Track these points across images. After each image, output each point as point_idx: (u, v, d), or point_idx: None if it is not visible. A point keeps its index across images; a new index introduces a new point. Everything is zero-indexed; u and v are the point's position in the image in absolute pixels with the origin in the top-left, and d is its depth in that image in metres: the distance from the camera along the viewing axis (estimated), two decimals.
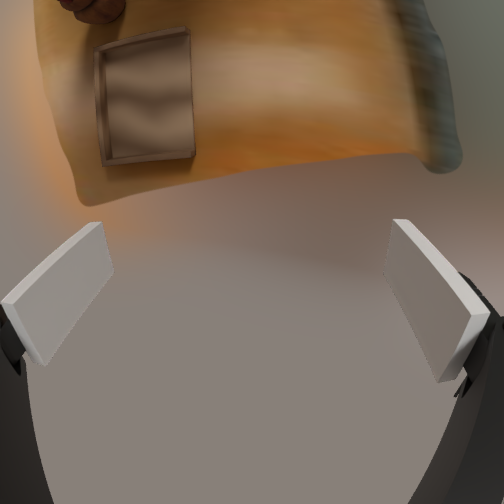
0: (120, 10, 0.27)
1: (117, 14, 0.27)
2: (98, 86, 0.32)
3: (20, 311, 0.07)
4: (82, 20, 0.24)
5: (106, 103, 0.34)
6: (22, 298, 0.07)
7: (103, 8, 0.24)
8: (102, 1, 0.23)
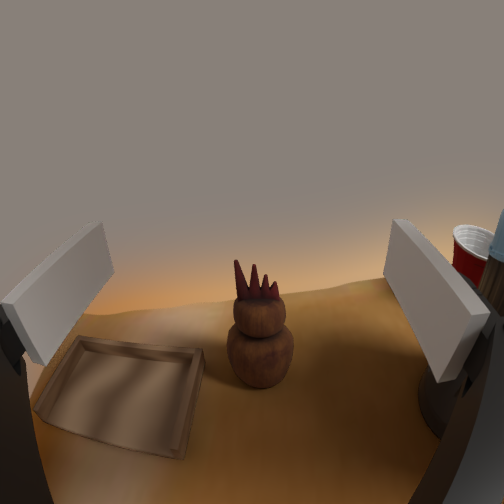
0: (245, 380, 0.30)
1: (240, 377, 0.30)
2: (151, 348, 0.33)
3: (20, 311, 0.07)
4: None
5: (136, 357, 0.34)
6: (22, 298, 0.07)
7: (235, 351, 0.28)
8: (243, 348, 0.27)
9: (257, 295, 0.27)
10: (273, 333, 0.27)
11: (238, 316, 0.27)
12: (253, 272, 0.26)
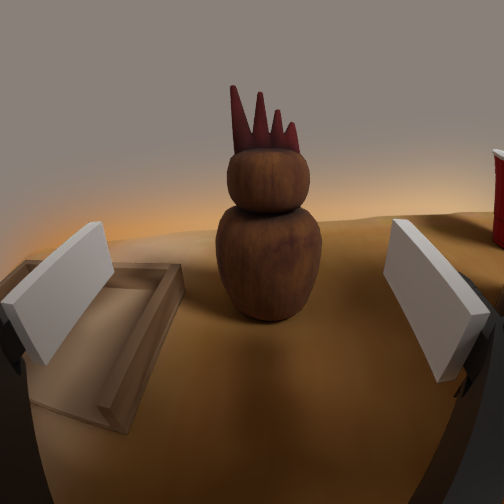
0: (244, 305, 0.19)
1: (235, 300, 0.20)
2: None
3: (20, 311, 0.07)
4: None
5: None
6: (22, 298, 0.07)
7: (229, 243, 0.18)
8: (242, 233, 0.17)
9: (265, 142, 0.16)
10: (291, 202, 0.16)
11: (234, 173, 0.16)
12: (259, 103, 0.15)
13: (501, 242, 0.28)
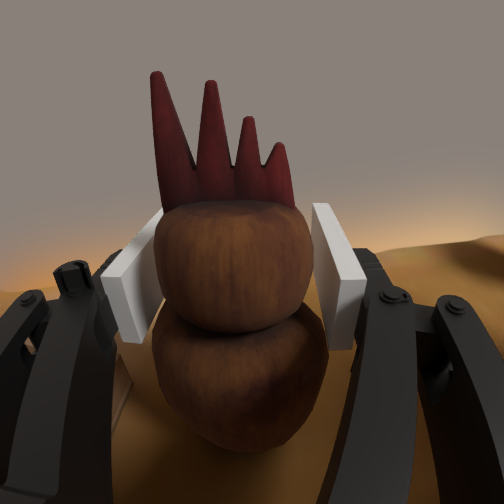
0: (203, 436, 0.11)
1: None
2: None
3: (125, 285, 0.09)
4: None
5: None
6: (127, 271, 0.09)
7: (166, 369, 0.09)
8: (184, 362, 0.09)
9: (222, 187, 0.08)
10: (275, 318, 0.08)
11: (159, 257, 0.08)
12: (208, 104, 0.07)
13: None
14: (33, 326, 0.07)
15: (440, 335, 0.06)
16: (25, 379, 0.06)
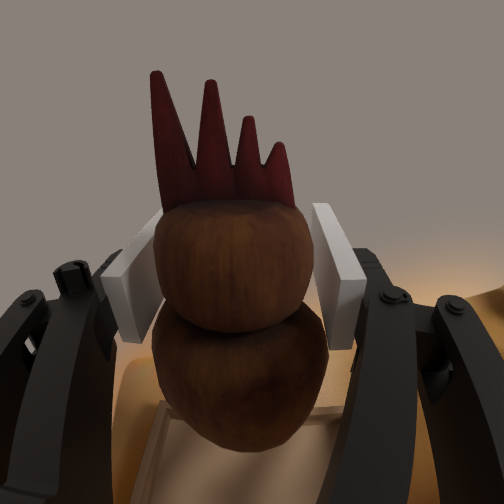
0: (203, 436, 0.11)
1: None
2: None
3: (125, 285, 0.09)
4: None
5: None
6: (127, 271, 0.09)
7: (166, 369, 0.09)
8: (184, 362, 0.09)
9: (222, 187, 0.08)
10: (275, 318, 0.08)
11: (159, 256, 0.08)
12: (208, 103, 0.07)
13: None
14: (33, 326, 0.07)
15: (440, 335, 0.06)
16: (25, 379, 0.06)
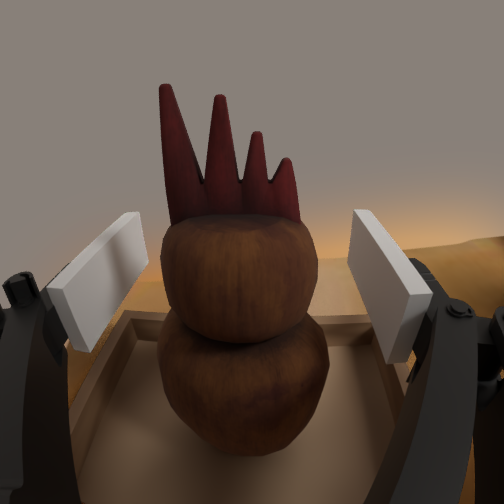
0: (206, 441, 0.11)
1: None
2: None
3: (69, 296, 0.08)
4: None
5: None
6: (71, 283, 0.08)
7: (172, 377, 0.10)
8: (190, 370, 0.09)
9: (229, 201, 0.08)
10: (279, 330, 0.08)
11: (167, 269, 0.08)
12: (217, 119, 0.07)
13: None
14: None
15: (498, 346, 0.06)
16: None
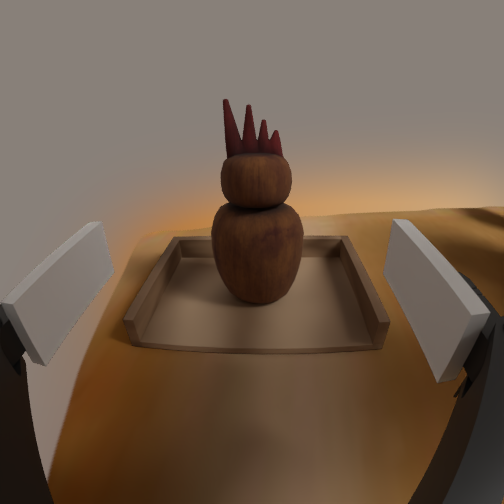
0: (236, 289, 0.22)
1: (228, 285, 0.23)
2: None
3: (20, 311, 0.07)
4: None
5: None
6: (22, 298, 0.07)
7: (222, 234, 0.21)
8: (233, 225, 0.20)
9: (253, 147, 0.19)
10: (275, 199, 0.19)
11: (227, 174, 0.19)
12: (247, 114, 0.18)
13: None
14: None
15: None
16: None
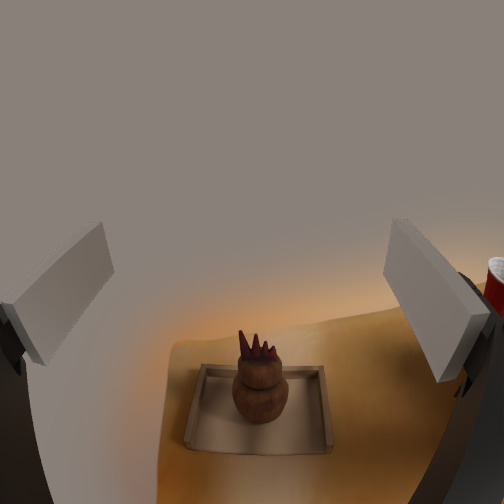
0: (247, 418, 0.33)
1: (242, 414, 0.34)
2: None
3: (20, 311, 0.07)
4: None
5: None
6: (22, 298, 0.07)
7: (239, 397, 0.32)
8: (246, 395, 0.31)
9: (258, 356, 0.30)
10: (271, 386, 0.30)
11: (242, 373, 0.30)
12: (255, 340, 0.29)
13: None
14: None
15: None
16: None
